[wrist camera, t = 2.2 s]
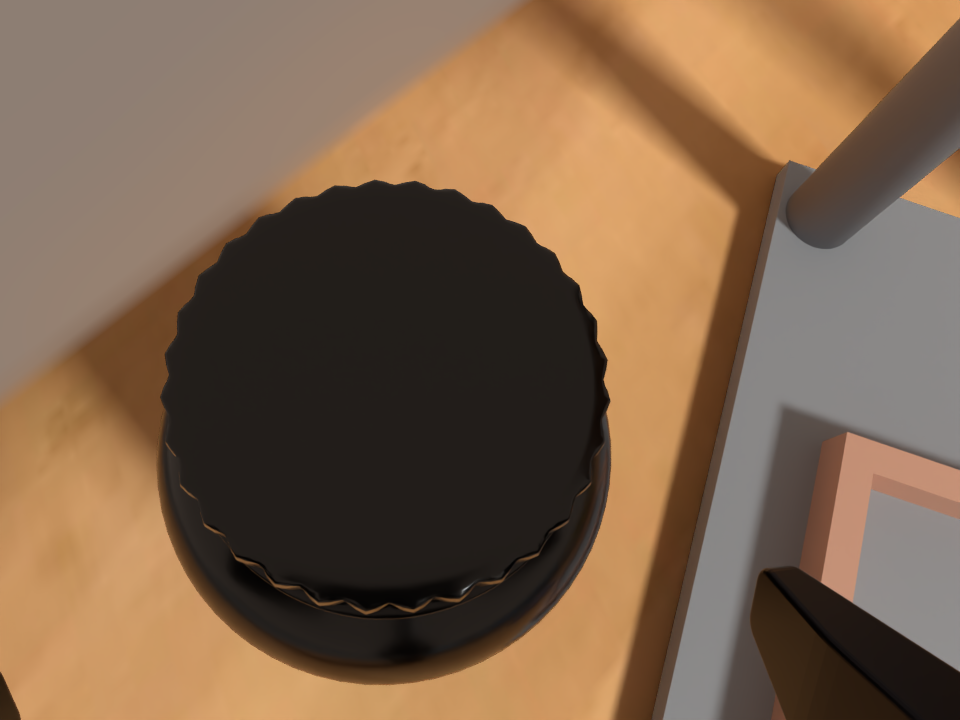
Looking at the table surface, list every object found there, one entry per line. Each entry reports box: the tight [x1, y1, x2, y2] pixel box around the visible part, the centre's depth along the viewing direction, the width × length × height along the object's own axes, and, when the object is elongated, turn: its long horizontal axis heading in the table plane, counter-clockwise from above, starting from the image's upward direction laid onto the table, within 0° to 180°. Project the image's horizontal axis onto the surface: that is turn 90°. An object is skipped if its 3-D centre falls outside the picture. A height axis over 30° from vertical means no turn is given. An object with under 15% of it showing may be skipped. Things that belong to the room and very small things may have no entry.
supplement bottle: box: [157, 180, 611, 685], centre depth 14 cm, size 7×7×12 cm
